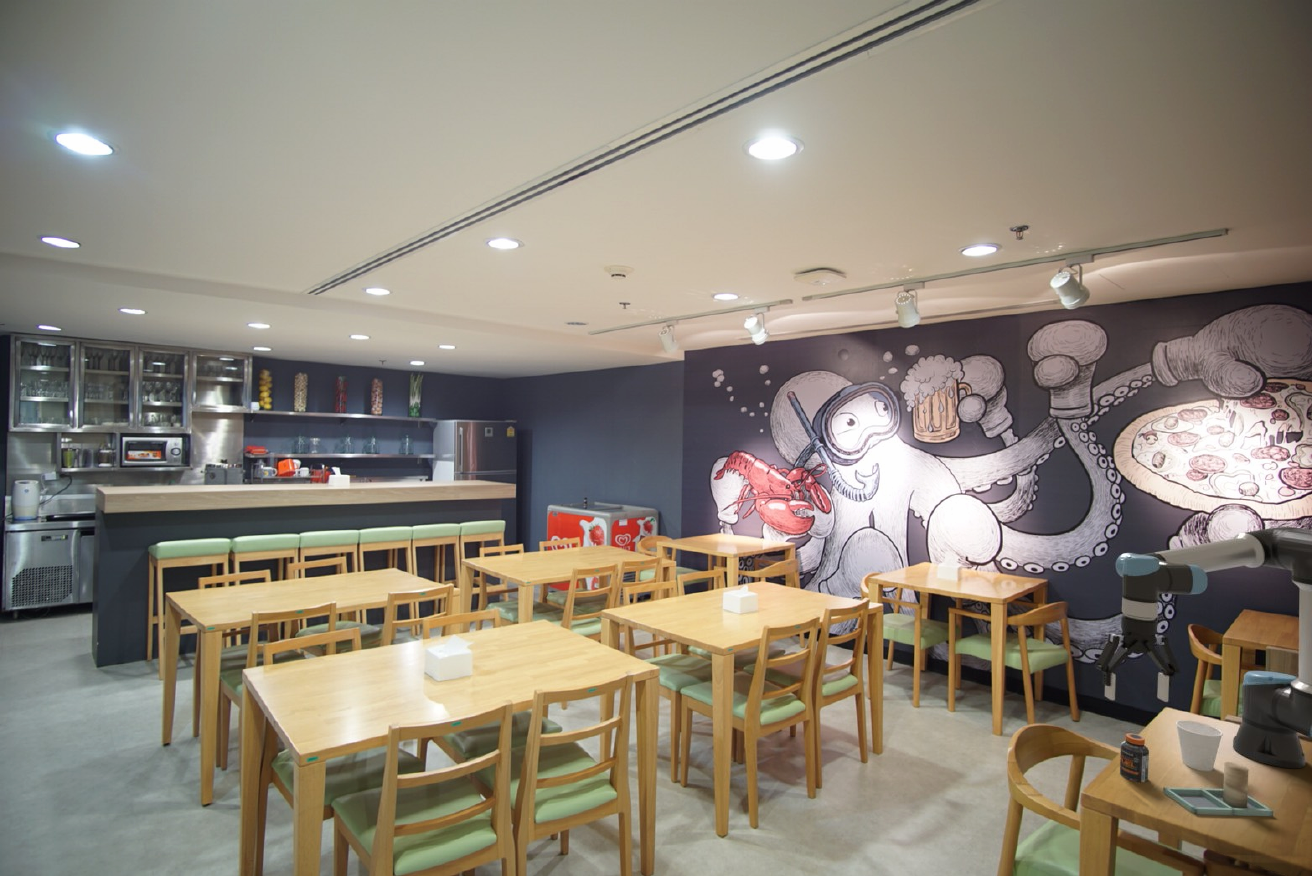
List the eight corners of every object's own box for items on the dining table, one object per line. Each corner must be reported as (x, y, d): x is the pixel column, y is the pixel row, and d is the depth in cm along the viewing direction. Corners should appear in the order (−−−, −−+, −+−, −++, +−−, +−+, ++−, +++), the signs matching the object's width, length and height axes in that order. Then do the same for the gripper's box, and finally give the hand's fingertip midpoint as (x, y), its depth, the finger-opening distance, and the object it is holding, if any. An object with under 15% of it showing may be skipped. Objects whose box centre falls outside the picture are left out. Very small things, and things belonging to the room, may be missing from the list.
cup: (1230, 780, 177) (1231, 738, 177) (1186, 775, 179) (1188, 733, 179) (1207, 762, 187) (1209, 722, 187) (1166, 758, 189) (1168, 718, 189)
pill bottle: (1114, 776, 178) (1115, 732, 177) (1129, 772, 180) (1130, 729, 180) (1138, 787, 172) (1139, 742, 172) (1153, 783, 174) (1154, 739, 174)
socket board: (1237, 798, 168) (1238, 789, 168) (1273, 820, 159) (1273, 810, 159) (1162, 796, 168) (1163, 787, 168) (1193, 818, 159) (1194, 808, 159)
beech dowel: (1236, 799, 166) (1237, 762, 166) (1252, 809, 161) (1253, 771, 161) (1218, 798, 166) (1219, 761, 166) (1233, 808, 161) (1235, 770, 161)
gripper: (1176, 613, 179) (1173, 694, 180) (1081, 610, 179) (1078, 691, 180) (1199, 621, 172) (1196, 706, 172) (1100, 618, 172) (1097, 703, 172)
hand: (1136, 699), depth 176 cm, fingers open, 13 cm apart
